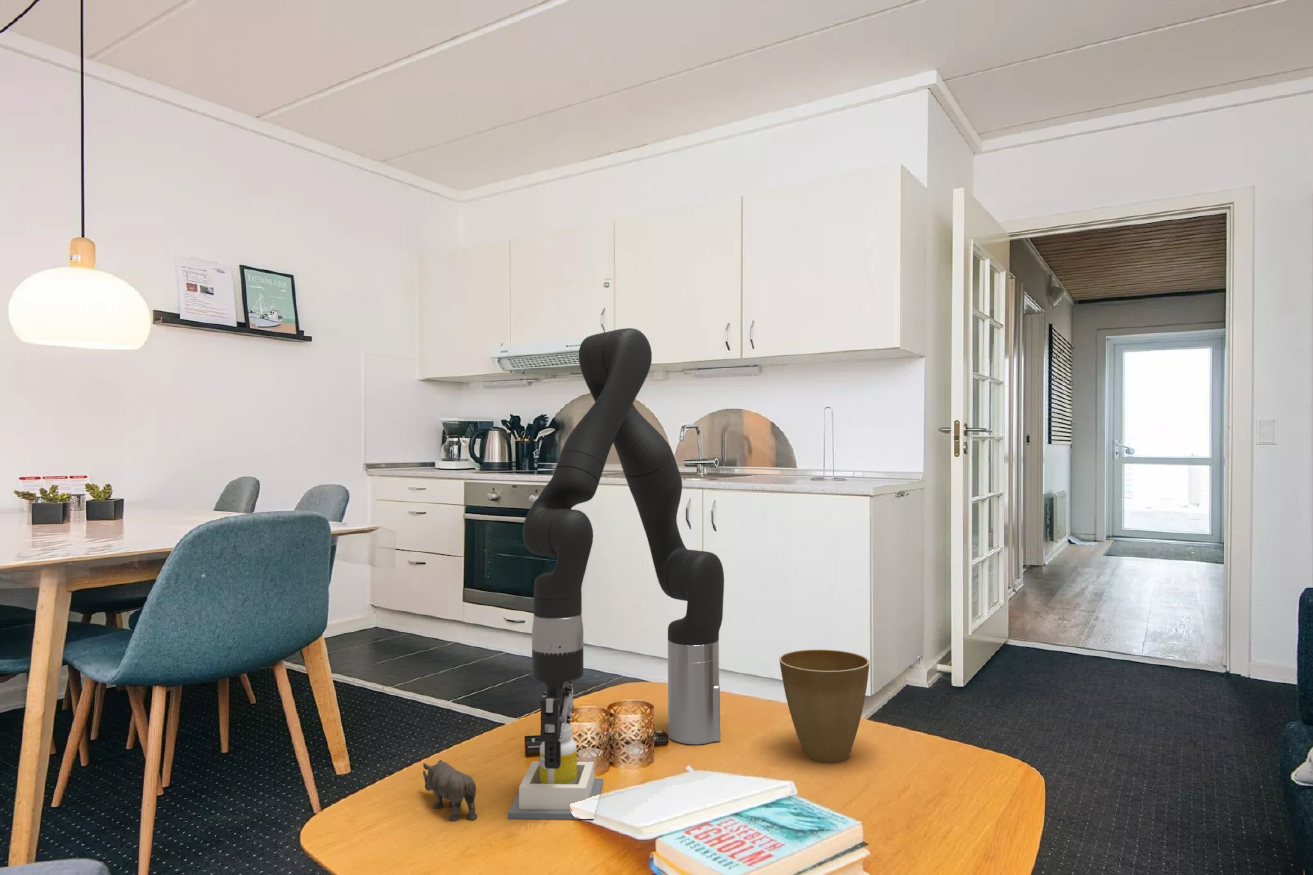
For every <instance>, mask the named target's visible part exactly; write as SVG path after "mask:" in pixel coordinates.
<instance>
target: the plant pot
mask: <svg viewBox="0 0 1313 875" xmlns="http://www.w3.org/2000/svg"><path fill="white" fill-rule="evenodd" d="M778 660H779V665H780V666H779V667H780V673H781V679H782V685H783V688H784V695H785V698H786V699H785V700H786V702H787V705H788V710H789V714H790V716H791V721H792V724H793V727H794V730H795V734H796V736H797V738H798V742H799V744H800V747H801V749H802V751H803V754H804V755H805V757H806V758H807V759H810V760H812V761H816V762H821V763H839V762H840V763H841V762H842V761H843V762H844V761H845V760H847V759H848V758H849V756H850V754H851V752H852V749H853V746H854V743H855V740H856V738H857V737H856V736H857V733H858V730H859V726H860V724H861V718H862V715H863V714H862V713H863V710H864V705H865V699H866V693H867V688H868V682H869V670H870V659H868V658H867V657H866V656H863V655H861V654H858V653H854V652H851V651H850V652H849V651H844V650H835V649H802V650H801V649H800V650H795V651H789V652H787V653H784V654H782V655H780V657H779V659H778Z"/></svg>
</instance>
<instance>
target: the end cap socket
mask: <svg viewBox="0 0 1313 875" xmlns="http://www.w3.org/2000/svg"><path fill="white" fill-rule="evenodd" d="M602 786H604V778H601V777H599V778H598V777H597V778H595V762H594V761H577V784H540V760H539V761H537V760H536V761H535V760H532V762H531V763H530V765H529V768H528V769H527V771H526V773H525V775H524V777H523V778H522V781H521V783H520V785H519V787H518V792H517V794H516V796H515V798H514V799H513V800H514V801H513V802H512V804H511V806H510V808H509V810H508V811H507V820H508V819H514V820H561V821H563V820H564V819H565V820H566V821H568V820H570V821H571V820H572V819H574V821H579V820H578V819H577V818H575V817H574V816H573V815H572V813H571V812H570V804H571V803H575V802H578V801H582V800H585V799H587V798H590V797H592V796H596V795H598V794H602V791H601V790H603V787H602ZM572 821H573V820H572Z"/></svg>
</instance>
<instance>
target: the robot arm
mask: <svg viewBox="0 0 1313 875" xmlns="http://www.w3.org/2000/svg"><path fill="white" fill-rule="evenodd" d="M652 354H653V352H652V346H651V344H650V341H649V339H648V338H647V336H646V335H645V334H644V333H643V332H642V331H641V330H639V329H636V328H632V327H631V328H630V327H629V328H628V327H627V328H619V329H613V330H610V331H605V332H599V333H595V334H592V335H589V336H586V338H584V339H583V340H582V342H581V343H580V345H579V349H578V362H579V363H578V364H579V367H580V371H581V374H582V377H583V379H584V381H585V384H586V386H587V388H588V390H589V392H590V395H591V396H592V398H593V401H594V403H593V405H592V406H591V407H590V408H589V410H588V411H587V412H586V413H585V414H584V416H583V417H582V418H581V419H580V421H579V422H578V423H577V424H576V425H575V427H573V429H572V431H571V432H570V434H568V437H567V438H566V441H565V442H564V443H563V444H564V445H563V446H562V449H561V452H560V454H559V457H558V460H557V463H556V465H555V468H554V471H553V475H552V477H551V479H550V480H549V481H548V483H547V484H546V485H545V487H544V488H543V489H542V491H541V492H540V493H539V496H537V498H536V500H535V501H534V503H533V504H532V506H531V507H530V509H529V510H528V512H527V514H526V516H525V518H524V521H523V522H524V523H523V526H522V539H523V544H524V546H525V548H526V550H528V551H529V552H530V553H532V554H534V555H537V556H542V557H543V556H544V557H554V558H555V557H557V558H556V563H555V565H554V569H553V571H550V572H545V573H541V574H539V575H538V576H537V577H536V578H535V580H534V585H533V621H532V628H531V661H532V662H531V677H532V679H534V680H535V681H537V682H539V683H540V682H541V683H544V684H545V685H546V687H545V692H542V697H541V698H540V701H539V703H540V735H539V739H540V742H541V743H543V742H545V767H546V768H548V769H558V768H559V767H560V765H561V739H562V727H563V726H565V725H566V723H568V724H570V725H571V720H572V717H573V713H572V712H573V711H574V709H575V705H574V682H575V681H577V680H578V681H579V679H581V678H582V677H583V675H584V624H583V616H582V610H583V608H582V607H583V606H582V605H583V603H582V601H583V600H582V599H583V597H582V593H583V592H582V587H583V582H584V578H585V573H586V570H587V567H588V561H589V558H590V555H591V551H592V548H593V542H594V530H593V525H592V523H591V520H590V518H589V517H588V516H587V514H586V512H585V513H584V512H583V511H582V510H578V509H572V508H573V507H575V506H576V505H579V504H583V503H586V502H589V501H590V500H591V499H593V498H594V496H595V495H596V493H597V489H598V487H599V483H600V481H601V477H602V474H603V472H604V469H605V466H606V462H607V459H608V456H609V454H610V451H611V448H612V447H613V445H614V448H615V451H616V454H617V456H618V458H619V462H620V465H621V469H622V471H623V474H624V477H625V480H626V483H627V486H628V488H629V491H630V493H631V495H632V498H633V500H634V503H635V505H636V507H637V512H638V514H639V517H640V521H641V523H642V526H643V530H644V532H645V535H646V538H647V543H648V547H649V550H650V555H651V557H652V558H651V559H652V561H653V567H654V570H655V574H656V578H657V581H658V583H659V586H660V588H661V590H662V592H663V593H664V594H665V595H666V596H668V597H670V598H671V599H673V600H679V601H686V602H687V603H686V613H685V616H684V617H683V618H679V619H676V620H673V621H671V622H670V623H669V624H668V627H667V728H668V729H667V734H668V735H669V736H668V738H669V739H670V740H672V741H675V743H676V742H678V743H680V744H686V745H687V744H688V745H703V744H710V743H712V742H720V741H721V692H720V691H721V689H720V688H721V687H720V643H719V642H720V629H721V625H722V623H723V616H724V590H725V574H724V567H723V564H722V561H721V559H720V558H719V556H718V555H717V554H715V553H713V552H710V551H704V550H698V549H688V548H687V547H686V546H685V544H684V541H683V540H682V539H683V538H682V537H681V533H680V531H679V530H680V529H679V526H678V520H677V519H678V512H679V506H680V503H681V499H682V498H681V497H682V493H683V480H682V476H681V473H680V472H681V471H680V470H679V466H678V464H677V461H676V457H675V455H674V452H673V450H672V448H671V445H670V444H669V442H667V440H666V438H664V436H663V435H662V434H661V433H660V432H659V431H658V430H657V429H656V428H655V427H654V426H653V425H652V424H651V422H649V421H648V420H647V418H645V417H644V415H642V414H641V413H640V412H639V410H638V409H637V407H636V406H635V405H634V402H635V400H636V399H637V396H638V394H639V393H640V390H641V389H642V387H643V385H644V383H645V381H646V379H647V377H648V374H649V373H650V370H651V367H652V360H653V359H652V358H653V357H652V356H653V355H652ZM549 726H555V733H550V732H548V730H549Z"/></svg>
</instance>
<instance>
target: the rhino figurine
mask: <svg viewBox="0 0 1313 875" xmlns="http://www.w3.org/2000/svg"><path fill="white" fill-rule="evenodd" d="M422 765H423V769H424V770H422V776H423V779H424V788H425V790H426V791H427V792H429V791H432V793H433V795H434V796H435V800H436V802H434V804H433V805H432V808H433V809H442V808H443V806H444V802H443V799H445V800H447V801H449V806H451V808H452V809H451V810H452V811H451V813H450V814H449V815H448V821H450V822H451V821H454V822H455V821H458V820H459V818H460V816H459V813H460V811H461V806H462V805H461V804H462V802H463V801H464V800H465V803H466V804H467V809H468V814H466V819H467V820H469V821H474V820H476V819H477V818H478V813H476V804H475V798H476V792H477V786H476V782H475V780H474V779H473V777H472V776H471V775H468V774H467V773H465V772H462V771H460V770H457V769H456V768H454V767H453V766H451V765H450V764H448V763H447V762H446V761H442V759H440V760H439V761H437V763H436V764H434V765H429V764H427V763H425V762H423V764H422ZM425 770H426V771H427V773H426V771H425Z"/></svg>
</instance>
